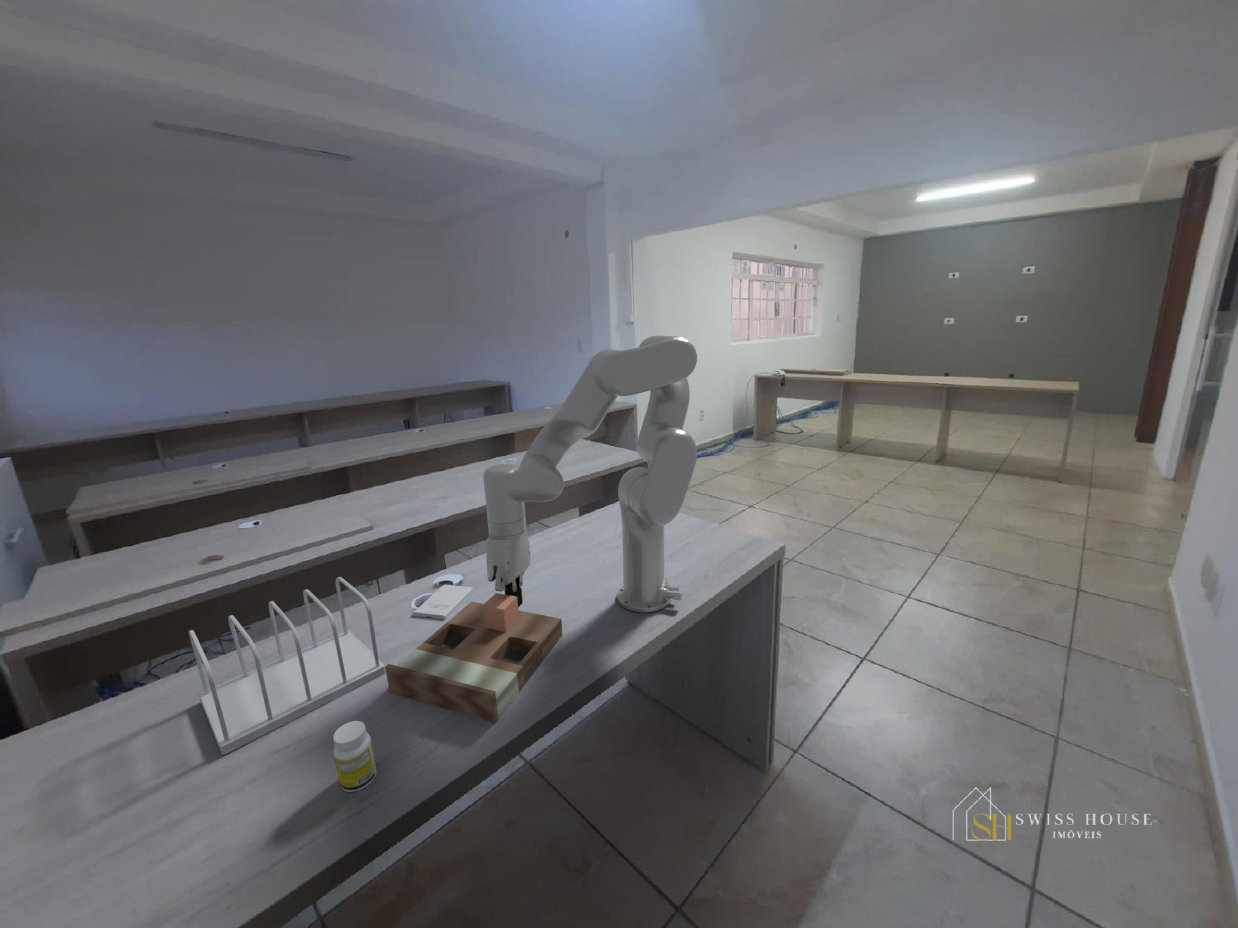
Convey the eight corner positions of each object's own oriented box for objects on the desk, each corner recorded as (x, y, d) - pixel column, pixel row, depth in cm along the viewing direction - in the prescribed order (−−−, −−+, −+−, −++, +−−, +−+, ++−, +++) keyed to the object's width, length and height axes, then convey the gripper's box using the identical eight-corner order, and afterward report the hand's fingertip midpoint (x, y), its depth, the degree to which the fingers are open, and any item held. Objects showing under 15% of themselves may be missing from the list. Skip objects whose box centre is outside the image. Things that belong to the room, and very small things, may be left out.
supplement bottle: (349, 765, 74) (339, 719, 71) (382, 762, 74) (373, 716, 72) (334, 795, 69) (323, 746, 67) (369, 791, 69) (359, 743, 67)
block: (519, 618, 103) (517, 596, 102) (506, 631, 98) (503, 609, 97) (498, 614, 105) (496, 592, 103) (484, 627, 100) (482, 605, 99)
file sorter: (222, 757, 76) (196, 671, 72) (200, 703, 87) (177, 626, 83) (386, 673, 94) (373, 600, 89) (351, 637, 105) (337, 570, 101)
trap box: (562, 635, 103) (560, 612, 102) (495, 722, 81) (492, 694, 79) (473, 617, 111) (470, 595, 109) (389, 692, 88) (385, 666, 87)
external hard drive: (473, 593, 122) (445, 621, 110) (443, 589, 124) (413, 617, 112) (473, 587, 122) (445, 615, 110) (443, 584, 123) (412, 611, 112)
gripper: (511, 510, 109) (517, 585, 114) (469, 537, 95) (478, 620, 100) (541, 514, 106) (546, 590, 111) (502, 542, 93) (510, 627, 98)
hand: (514, 604), depth 106 cm, fingers closed
